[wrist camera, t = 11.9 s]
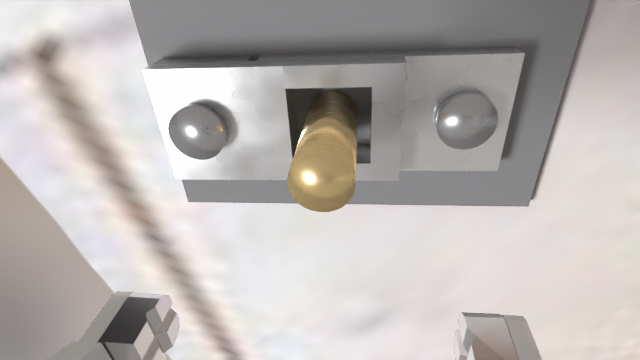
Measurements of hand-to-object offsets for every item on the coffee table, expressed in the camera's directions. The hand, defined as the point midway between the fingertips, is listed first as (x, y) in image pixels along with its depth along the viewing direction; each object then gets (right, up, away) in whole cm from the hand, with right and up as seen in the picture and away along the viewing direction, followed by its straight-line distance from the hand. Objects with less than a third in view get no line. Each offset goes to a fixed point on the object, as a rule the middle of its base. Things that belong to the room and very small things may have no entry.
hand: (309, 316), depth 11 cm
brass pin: (+1, +8, +13) cm, 15 cm away
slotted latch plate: (+1, +8, +13) cm, 16 cm away
